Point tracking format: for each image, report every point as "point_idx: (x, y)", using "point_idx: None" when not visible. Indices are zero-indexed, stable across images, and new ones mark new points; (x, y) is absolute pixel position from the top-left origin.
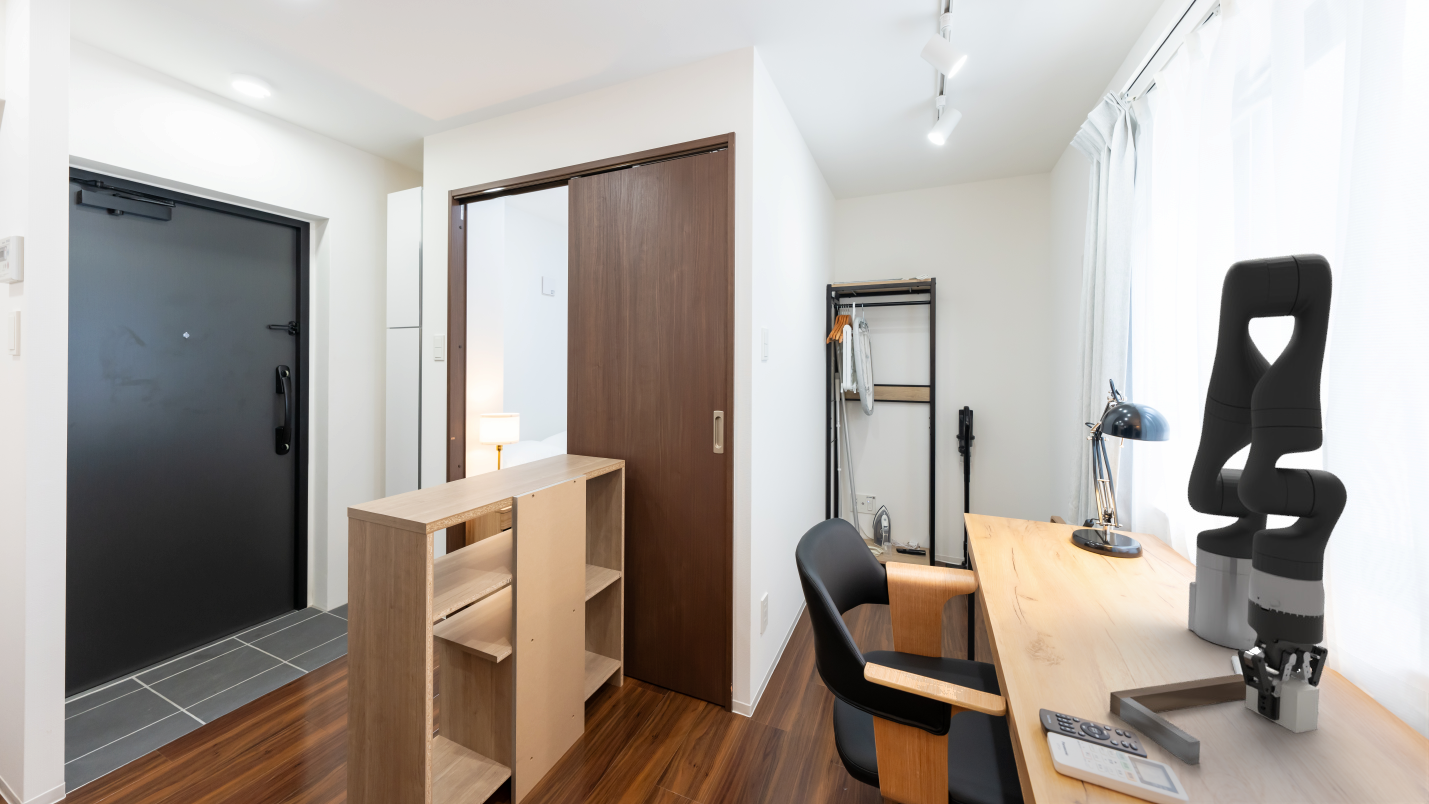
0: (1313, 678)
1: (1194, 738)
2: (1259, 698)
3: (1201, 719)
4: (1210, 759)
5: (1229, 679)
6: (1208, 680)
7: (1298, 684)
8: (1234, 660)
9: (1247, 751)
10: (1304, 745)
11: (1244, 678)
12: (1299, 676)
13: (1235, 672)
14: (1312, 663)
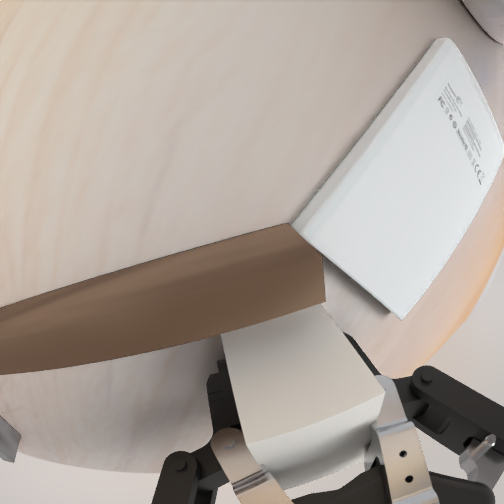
0: (414, 424)
1: (8, 458)
2: (212, 413)
3: (47, 370)
4: (34, 434)
5: (206, 318)
6: (92, 332)
7: (330, 466)
8: (437, 57)
9: (93, 435)
10: None
11: (160, 479)
12: (366, 463)
13: (393, 98)
14: (451, 444)
